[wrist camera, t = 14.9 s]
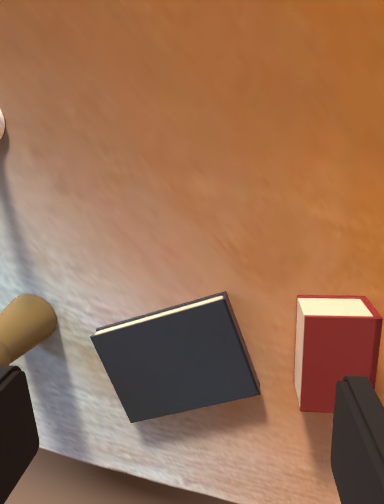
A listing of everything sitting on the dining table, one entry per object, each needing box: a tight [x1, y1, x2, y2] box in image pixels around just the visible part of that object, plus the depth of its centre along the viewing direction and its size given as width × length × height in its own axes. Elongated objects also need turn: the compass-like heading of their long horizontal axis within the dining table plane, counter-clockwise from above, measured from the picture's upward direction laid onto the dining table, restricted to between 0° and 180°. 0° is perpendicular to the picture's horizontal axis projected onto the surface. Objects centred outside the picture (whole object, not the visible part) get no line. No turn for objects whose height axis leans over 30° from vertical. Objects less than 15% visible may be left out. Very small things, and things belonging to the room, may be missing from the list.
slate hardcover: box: [90, 292, 260, 423], centre depth 42 cm, size 16×12×2 cm
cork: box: [0, 294, 57, 366], centre depth 39 cm, size 6×6×11 cm
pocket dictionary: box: [294, 295, 383, 413], centre depth 37 cm, size 7×10×5 cm, turn 2°
